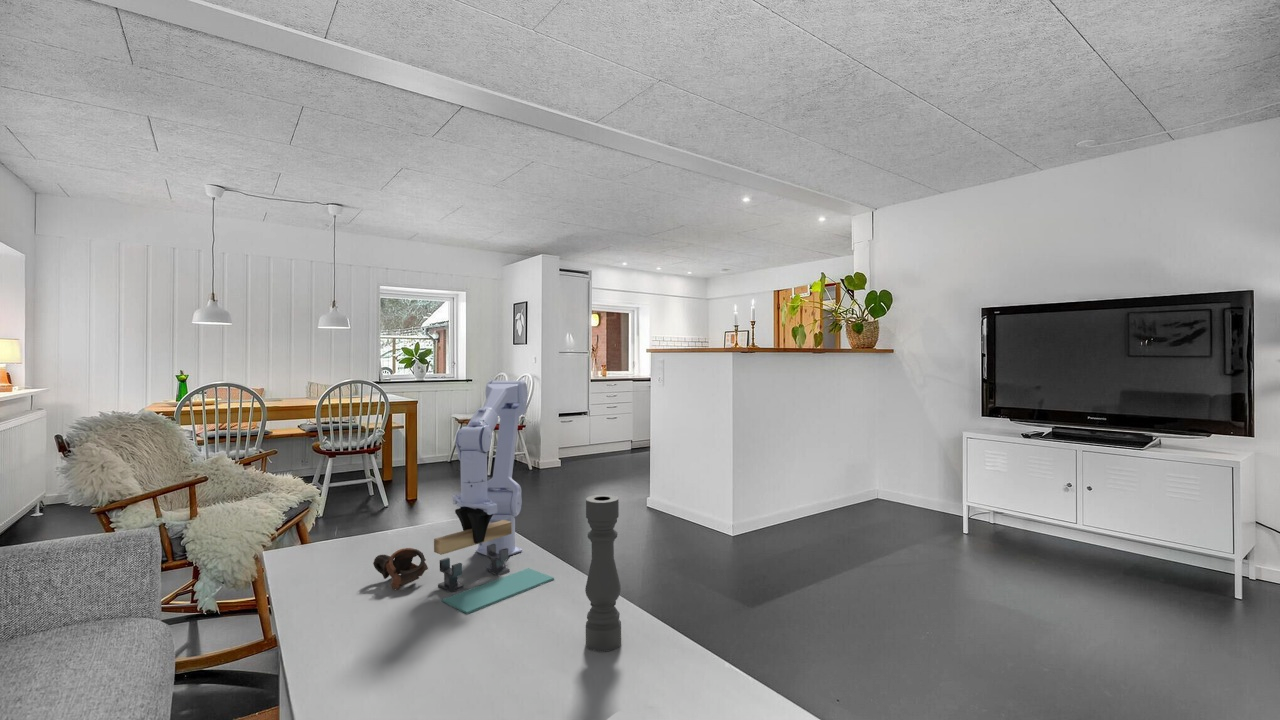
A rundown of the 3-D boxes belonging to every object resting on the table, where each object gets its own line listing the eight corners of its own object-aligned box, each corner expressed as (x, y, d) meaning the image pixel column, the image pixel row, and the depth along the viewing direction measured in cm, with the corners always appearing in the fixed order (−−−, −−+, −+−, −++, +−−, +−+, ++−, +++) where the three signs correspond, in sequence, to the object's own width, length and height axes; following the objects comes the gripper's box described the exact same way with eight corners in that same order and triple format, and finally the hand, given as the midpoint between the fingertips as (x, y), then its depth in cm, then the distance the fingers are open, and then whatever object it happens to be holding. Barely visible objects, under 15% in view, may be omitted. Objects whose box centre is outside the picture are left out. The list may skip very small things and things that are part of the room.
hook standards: (437, 586, 124) (437, 560, 124) (495, 566, 135) (495, 543, 135) (451, 592, 120) (451, 566, 120) (510, 571, 132) (510, 548, 132)
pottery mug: (432, 573, 133) (435, 548, 129) (415, 607, 124) (418, 581, 121) (380, 561, 132) (382, 536, 128) (360, 595, 124) (361, 568, 120)
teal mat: (442, 601, 116) (442, 599, 116) (528, 569, 133) (528, 568, 133) (467, 613, 110) (467, 611, 110) (554, 579, 127) (554, 577, 127)
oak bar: (434, 551, 122) (433, 538, 122) (504, 531, 136) (504, 519, 136) (441, 554, 120) (440, 541, 120) (511, 533, 134) (511, 521, 134)
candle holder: (616, 653, 95) (615, 503, 95) (581, 649, 97) (579, 502, 96) (625, 635, 101) (623, 494, 101) (591, 632, 103) (590, 493, 103)
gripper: (440, 478, 129) (441, 538, 130) (477, 488, 120) (477, 552, 120) (467, 473, 135) (468, 531, 135) (505, 482, 125) (505, 544, 126)
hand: (474, 540), depth 128 cm, fingers closed on oak bar, 3 cm apart
